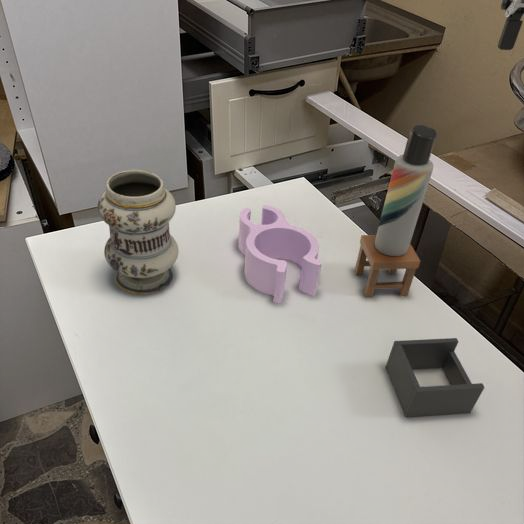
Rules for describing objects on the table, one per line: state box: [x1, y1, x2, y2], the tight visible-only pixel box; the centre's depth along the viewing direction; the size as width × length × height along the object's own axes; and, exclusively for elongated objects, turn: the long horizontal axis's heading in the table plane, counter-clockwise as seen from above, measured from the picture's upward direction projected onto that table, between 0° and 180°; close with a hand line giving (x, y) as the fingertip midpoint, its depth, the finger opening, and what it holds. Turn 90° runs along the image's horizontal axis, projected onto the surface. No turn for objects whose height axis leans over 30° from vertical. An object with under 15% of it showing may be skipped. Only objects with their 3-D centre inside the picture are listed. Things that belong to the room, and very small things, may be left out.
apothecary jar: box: [97, 169, 179, 295], centre depth 85 cm, size 12×12×18 cm
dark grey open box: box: [385, 337, 485, 419], centre depth 75 cm, size 10×10×6 cm
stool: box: [354, 234, 421, 298], centre depth 91 cm, size 8×8×8 cm
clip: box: [238, 204, 323, 304], centre depth 93 cm, size 20×12×7 cm, turn 23°
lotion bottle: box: [375, 124, 438, 256], centre depth 82 cm, size 6×6×20 cm
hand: (518, 58), depth 74 cm, fingers open, 8 cm apart
